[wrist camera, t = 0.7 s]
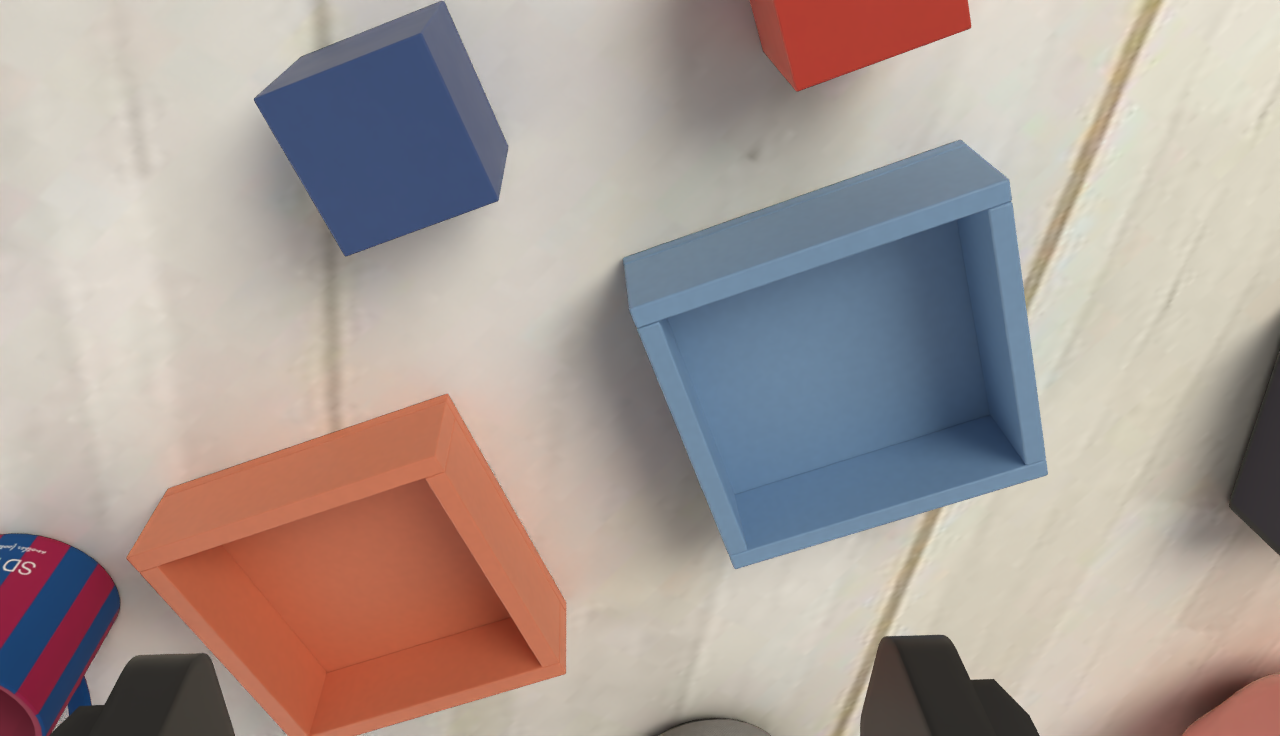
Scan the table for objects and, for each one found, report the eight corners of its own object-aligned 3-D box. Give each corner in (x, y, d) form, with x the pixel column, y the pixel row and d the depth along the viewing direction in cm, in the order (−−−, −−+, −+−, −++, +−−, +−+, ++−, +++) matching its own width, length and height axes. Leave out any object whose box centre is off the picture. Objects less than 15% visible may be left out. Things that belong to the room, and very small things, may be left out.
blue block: (299, 57, 28) (251, 99, 24) (443, -1, 28) (421, 32, 24) (375, 197, 31) (344, 257, 27) (509, 147, 30) (499, 201, 26)
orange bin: (167, 488, 37) (125, 558, 33) (448, 392, 35) (434, 455, 32) (323, 676, 43) (302, 752, 40) (566, 602, 42) (566, 674, 38)
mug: (87, 525, 38) (-1, 654, 32) (167, 683, 43) (103, 818, 37) (-76, 538, 37) (-194, 671, 32) (24, 696, 43) (-62, 834, 37)
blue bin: (622, 257, 33) (628, 309, 29) (961, 138, 31) (1010, 178, 28) (719, 503, 39) (734, 570, 36) (1004, 414, 38) (1048, 475, 34)
